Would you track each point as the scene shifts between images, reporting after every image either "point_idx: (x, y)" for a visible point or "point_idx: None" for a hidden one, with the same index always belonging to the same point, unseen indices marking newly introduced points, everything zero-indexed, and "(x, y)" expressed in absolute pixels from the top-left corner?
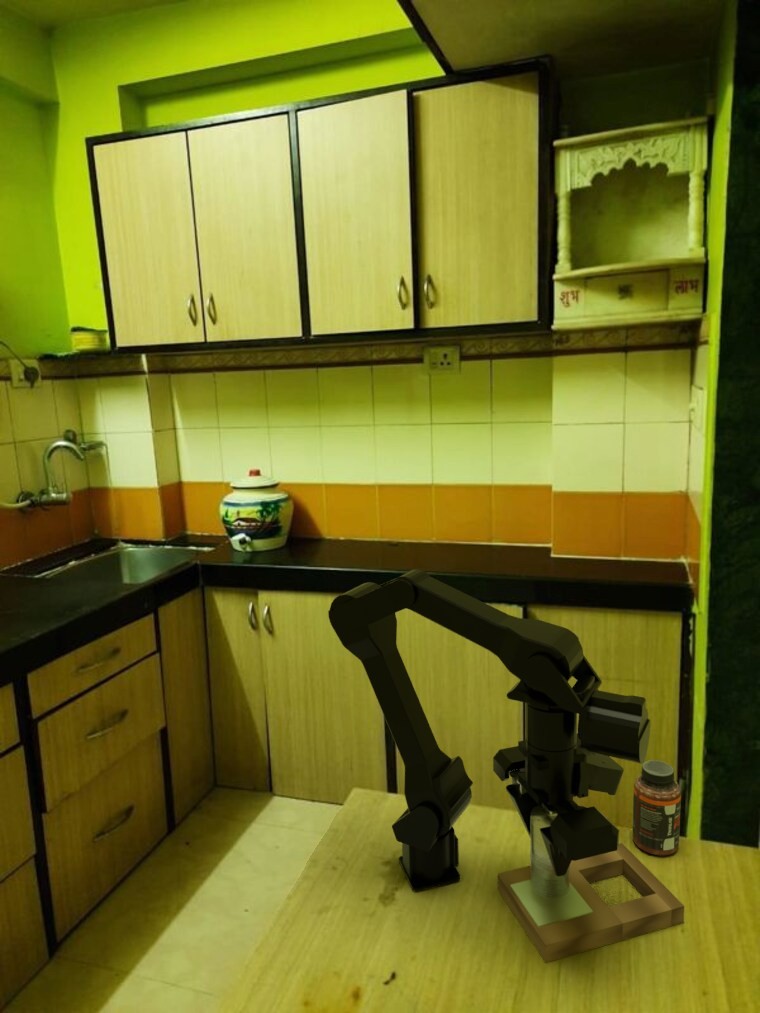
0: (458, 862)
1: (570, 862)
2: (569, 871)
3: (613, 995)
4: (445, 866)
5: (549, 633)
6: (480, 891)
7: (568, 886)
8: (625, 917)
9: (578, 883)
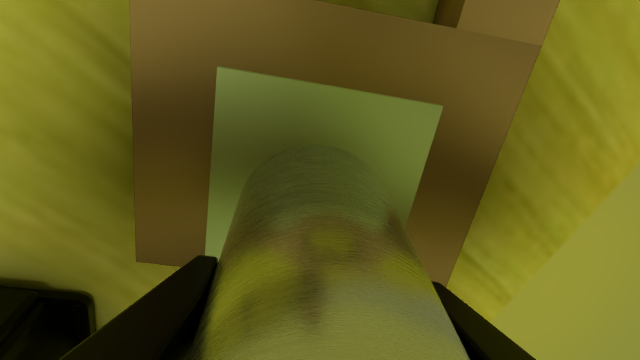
0: (27, 299)
1: (506, 338)
2: (387, 203)
3: (585, 191)
4: (52, 358)
5: None
6: (147, 269)
7: (383, 186)
8: (533, 13)
9: (299, 43)
